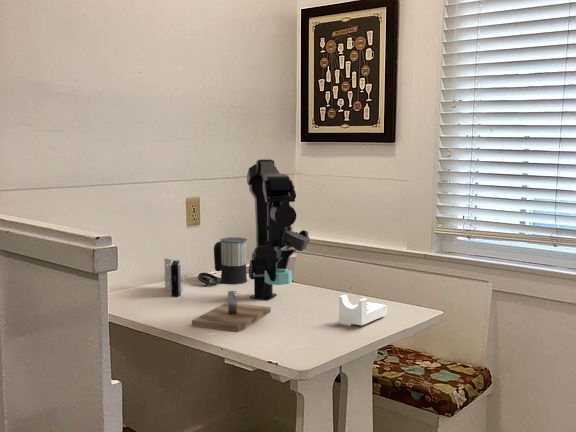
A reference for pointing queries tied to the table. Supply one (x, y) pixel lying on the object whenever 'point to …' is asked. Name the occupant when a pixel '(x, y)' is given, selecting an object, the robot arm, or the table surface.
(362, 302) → the bracket
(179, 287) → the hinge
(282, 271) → the teal ring
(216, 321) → the walnut base board
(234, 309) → the steel post
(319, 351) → the table surface
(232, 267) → the milk frother
